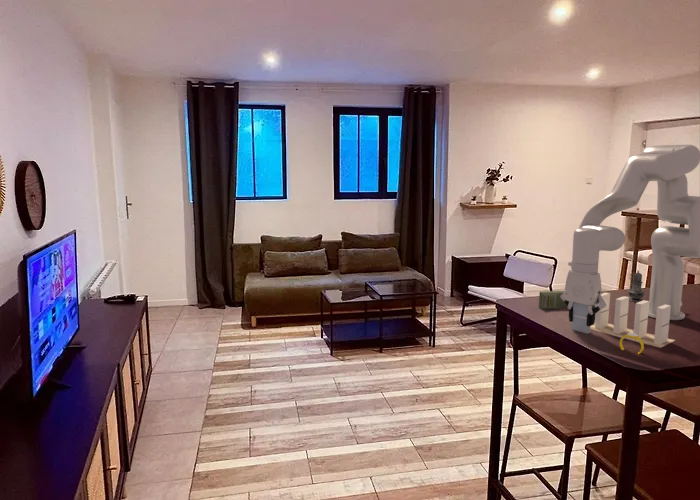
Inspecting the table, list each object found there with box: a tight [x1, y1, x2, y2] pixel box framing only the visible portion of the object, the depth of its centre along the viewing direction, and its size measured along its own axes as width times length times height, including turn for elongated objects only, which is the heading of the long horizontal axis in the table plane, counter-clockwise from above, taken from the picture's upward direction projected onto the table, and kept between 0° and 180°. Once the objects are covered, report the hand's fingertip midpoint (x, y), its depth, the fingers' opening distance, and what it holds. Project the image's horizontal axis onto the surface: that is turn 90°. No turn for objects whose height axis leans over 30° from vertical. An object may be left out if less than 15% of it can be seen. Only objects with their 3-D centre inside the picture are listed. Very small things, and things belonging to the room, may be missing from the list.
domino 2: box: [595, 292, 611, 329], centre depth 163 cm, size 2×5×11 cm, turn 126°
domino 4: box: [633, 299, 649, 338], centre depth 153 cm, size 2×5×11 cm, turn 126°
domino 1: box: [571, 303, 591, 335], centre depth 160 cm, size 2×5×11 cm, turn 36°
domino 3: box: [613, 296, 630, 334], centre depth 158 cm, size 2×5×11 cm, turn 126°
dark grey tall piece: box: [627, 270, 646, 303], centre depth 195 cm, size 6×6×12 cm
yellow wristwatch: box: [619, 333, 645, 355], centre depth 143 cm, size 6×3×6 cm, turn 45°
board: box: [570, 322, 676, 349], centre depth 159 cm, size 10×28×1 cm, turn 36°
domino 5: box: [654, 305, 671, 345], centre depth 149 cm, size 2×5×11 cm, turn 126°
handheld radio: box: [538, 290, 568, 310], centre depth 188 cm, size 7×3×25 cm
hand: (581, 322), depth 160 cm, fingers closed on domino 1, 5 cm apart
